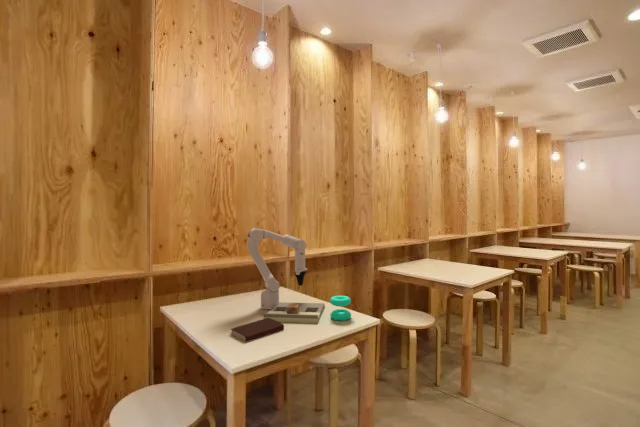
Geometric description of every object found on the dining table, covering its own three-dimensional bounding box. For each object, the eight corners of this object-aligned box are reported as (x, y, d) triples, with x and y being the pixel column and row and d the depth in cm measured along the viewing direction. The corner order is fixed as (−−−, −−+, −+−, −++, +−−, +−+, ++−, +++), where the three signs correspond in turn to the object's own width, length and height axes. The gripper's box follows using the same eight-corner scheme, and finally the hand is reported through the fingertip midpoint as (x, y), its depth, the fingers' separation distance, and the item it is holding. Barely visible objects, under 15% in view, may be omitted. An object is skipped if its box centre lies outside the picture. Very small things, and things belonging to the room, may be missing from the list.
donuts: (346, 301, 155) (326, 298, 160) (346, 322, 155) (326, 319, 160) (353, 295, 164) (334, 293, 168) (354, 316, 164) (335, 313, 169)
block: (286, 315, 161) (286, 307, 161) (289, 312, 166) (289, 304, 166) (297, 315, 160) (297, 307, 160) (299, 312, 165) (299, 304, 165)
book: (284, 330, 148) (284, 323, 148) (245, 343, 134) (245, 335, 134) (267, 324, 157) (267, 317, 157) (230, 335, 143) (230, 328, 143)
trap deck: (263, 321, 159) (263, 313, 159) (277, 305, 184) (277, 299, 184) (317, 322, 155) (317, 315, 155) (324, 307, 180) (324, 300, 180)
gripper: (304, 263, 179) (305, 288, 179) (309, 258, 193) (309, 282, 194) (291, 262, 180) (292, 288, 180) (297, 258, 194) (297, 282, 195)
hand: (300, 285), depth 187 cm, fingers closed
